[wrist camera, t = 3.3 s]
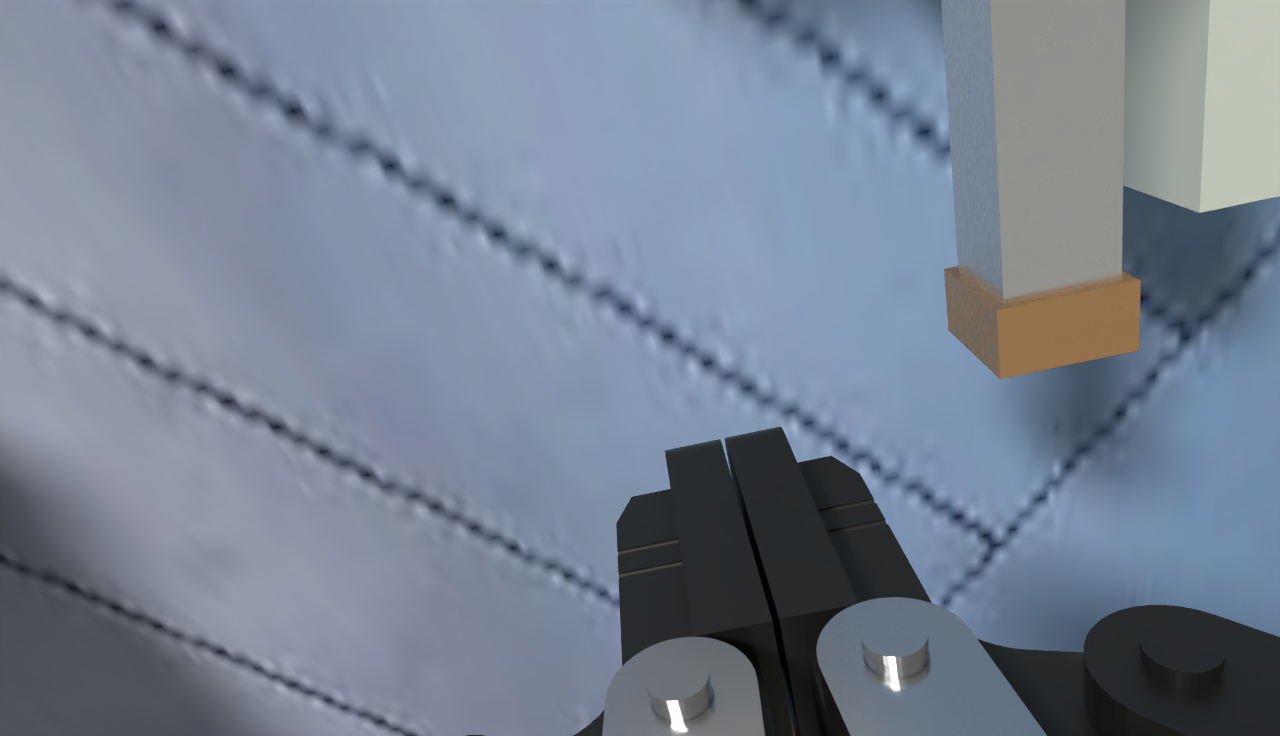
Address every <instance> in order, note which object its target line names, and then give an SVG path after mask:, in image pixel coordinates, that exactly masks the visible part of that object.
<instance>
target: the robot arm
mask: <svg viewBox="0 0 1280 736" xmlns="http://www.w3.org/2000/svg"><path fill="white" fill-rule="evenodd" d="M725 444H726V450H727V456H728V461H729V466H730V471H731V474H730V471H729V467H728V464H727V460H726V457H725V453H724V450H723V446H722V443H721V440H720V439H719V440H714V441H709V442H705V443H700V444H695V445H690V446H685V447H680V448H675V449H671V450H666V451H665V454H666V461H667V467H668V474H669V480H670V487H671V489H668V490H663V491H658V492H654V493H649V494H644V495H639V496H634V497H632V498H631V499H630V501H629V503H628V504H627V506H626V508H625V510H624V511H623V513H622V515H621V516H620V518H619V520H618V522H617V523H616V524H617V548H618V555H619V556H618V572H619V578H620V579H619V596H620V620H621V644H622V667H621V668H620V669H619V671H618V672H617V673H616V675H615V676H614V678H613V679H612V681H611V683H610V685H609V688H608V690H607V694H606V699H605V709H604V711H603V712H602V713H601V714H600V715H599V716H598V717H597V718H596V719H595V720H594V721H593V722H592V723H591V724H590V725H588V726H587V727H586V728H584V729H583V730H581V731H580V732H579V733H577V734H576V735H574V736H793V732H794V736H1280V637H1277V636H1274V635H1271V634H1269V633H1266V632H1263V631H1260V630H1257V629H1254V628H1251V627H1248V626H1245V625H1243V624H1240V623H1237V622H1234V621H1231V620H1228V619H1225V618H1222V617H1219V616H1216V615H1213V614H1210V613H1207V612H1203V611H1200V610H1196V609H1190V608H1185V607H1179V606H1169V605H1146V606H1137V607H1132V608H1127V609H1123V610H1120V611H1117V612H1115V613H1112V614H1110V615H1108V616H1106V617H1105V618H1103V619H1101V620H1100V621H1099V622H1098V623H1097V624H1096V625H1095V626H1093V627H1092V629H1091V630H1090V632H1089V633H1088V635H1087V637H1086V640H1085V644H1084V653H1081V652H1060V651H1039V650H1024V649H1013V648H1008V647H1003V646H998V645H994V644H991V643H988V642H985V641H982V640H979V639H977V638H976V637H975V635H974V634H973V633H972V631H971V630H970V629H969V627H968V626H967V625H966V624H965V623H964V622H963V621H962V620H961V619H960V618H958V617H957V616H956V615H955V614H953V613H951V612H950V611H948V610H946V609H944V608H943V607H940V606H938V605H935V604H933V603H932V602H931V601H930V599H929V597H928V595H927V593H926V592H925V590H924V588H923V586H922V584H921V583H920V581H919V579H918V577H917V575H916V574H915V572H914V570H913V568H912V566H911V565H910V563H909V561H908V559H907V558H906V556H905V554H904V552H903V550H902V549H901V547H900V545H899V543H898V541H897V540H896V538H895V536H894V534H893V532H892V531H891V529H890V527H889V525H888V524H886V522H885V518H884V516H883V514H882V513H881V511H880V509H879V507H878V505H877V504H876V503H874V499H873V496H872V495H871V493H870V491H869V489H868V488H867V486H866V484H865V482H864V480H863V479H862V477H861V475H860V473H858V472H856V471H855V470H853V469H852V468H850V467H848V466H847V465H845V464H844V463H842V462H840V461H839V460H837V459H836V458H834V457H832V456H828V457H823V458H818V459H814V460H809V461H804V462H799V463H797V461H796V459H795V456H794V454H793V452H792V450H791V447H790V445H789V443H788V440H787V438H786V436H785V433H784V431H783V429H782V428H781V427H776V428H771V429H767V430H762V431H757V432H752V433H747V434H742V435H737V436H733V437H728V438H725ZM731 477H732V478H731ZM792 729H793V731H792ZM468 736H483V735H468Z"/></svg>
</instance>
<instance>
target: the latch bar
mask: <svg viewBox="0 0 1280 736" xmlns="http://www.w3.org/2000/svg"><path fill="white" fill-rule="evenodd" d="M1125 4H1126V0H941V7H942V22H943V38H944V53H945V69H946V84H947V100H948V115H949V131H950V146H951V161H952V177H953V192H954V208H955V223H956V239H957V254H958V266H957V267H952V268H948V269H944V273H945V287H946V301H947V315H948V329H949V331H950V332H951V333H952V334H953V335H954V336H955V337H956V338H957V339H958V340H959V341H960V342H962V343H963V344H964V345H965V346H966V347H967V348H968V349H969V350H970V351H971V352H972V353H973V354H974V355H975V356H976V357H977V358H978V359H979V360H981V361H982V362H983V363H984V364H985V365H986V366H987V367H988V368H989V369H990V370H991V371H992V372H993V373H994V374H995V375H996V376H997V377H998V378H1000V379H1002V378H1007V377H1012V376H1017V375H1022V374H1027V373H1031V372H1036V371H1041V370H1046V369H1051V368H1056V367H1061V366H1066V365H1070V364H1075V363H1080V362H1085V361H1090V360H1095V359H1100V358H1105V357H1109V356H1114V355H1119V354H1124V353H1129V352H1134V351H1139V333H1140V287H1141V280H1139V279H1137V278H1135V277H1133V276H1131V275H1129V274H1127V273H1125V272H1124V271H1122V236H1123V159H1124V81H1125Z"/></svg>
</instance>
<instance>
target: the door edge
mask: <svg viewBox="0 0 1280 736" xmlns="http://www.w3.org/2000/svg"><path fill="white" fill-rule="evenodd" d="M1123 186H1126V187H1129V188H1132V189H1134V190H1137V191H1140V192H1143V193H1146V194H1148V195H1151V196H1154V197H1157V198H1159V199H1162V200H1165V201H1168V202H1171V203H1173V204H1176V205H1179V206H1182V207H1185V208H1187V209H1190V210H1193V211H1196V212H1198V213H1202V212H1207V211H1211V210H1216V209H1221V208H1226V207H1230V206H1235V205H1240V204H1245V203H1249V202H1254V201H1259V200H1264V199H1268V198H1273V197H1278V196H1280V0H1126V4H1125V81H1124V159H1123Z"/></svg>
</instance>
